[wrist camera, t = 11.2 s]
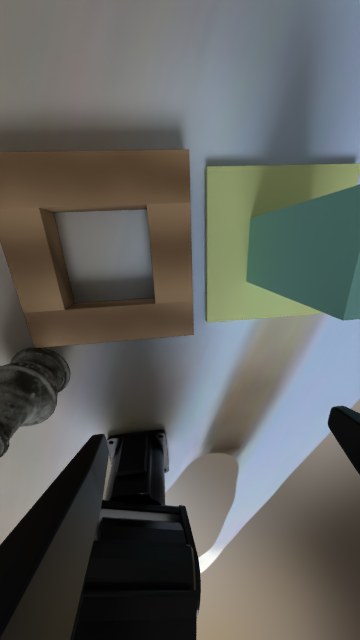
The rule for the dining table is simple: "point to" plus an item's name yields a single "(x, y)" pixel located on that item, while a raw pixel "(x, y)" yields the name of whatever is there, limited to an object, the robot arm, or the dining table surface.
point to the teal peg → (310, 253)
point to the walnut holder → (96, 195)
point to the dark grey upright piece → (29, 390)
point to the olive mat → (234, 224)
